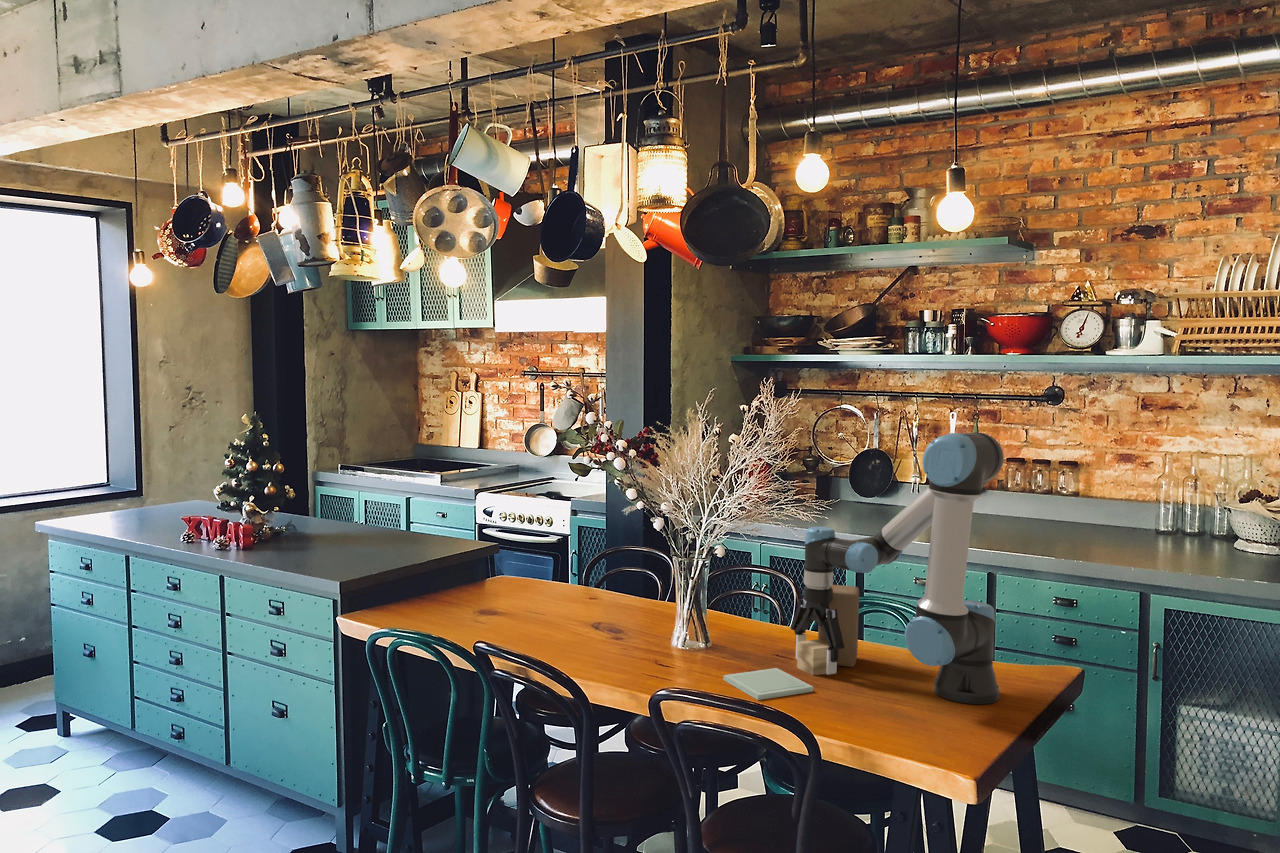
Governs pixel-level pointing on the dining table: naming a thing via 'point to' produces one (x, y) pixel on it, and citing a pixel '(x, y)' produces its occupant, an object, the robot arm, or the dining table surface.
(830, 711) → the dining table surface
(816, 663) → the oak cube
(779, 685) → the plate
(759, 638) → the dining table surface
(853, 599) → the wooden block
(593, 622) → the dining table surface
